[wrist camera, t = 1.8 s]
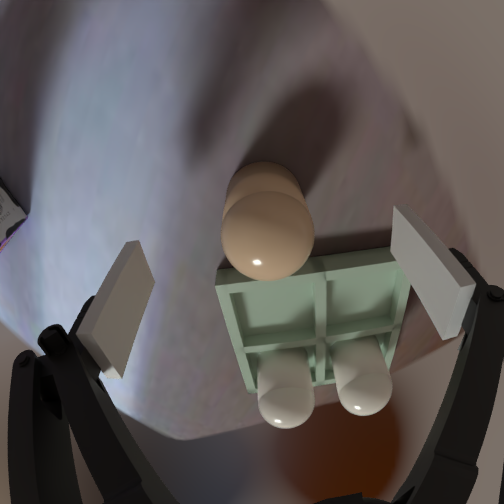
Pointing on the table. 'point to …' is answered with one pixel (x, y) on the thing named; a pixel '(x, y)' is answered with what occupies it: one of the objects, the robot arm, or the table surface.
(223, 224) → the brown egg
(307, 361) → the cream egg
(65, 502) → the robot arm
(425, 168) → the table surface
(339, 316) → the egg tray
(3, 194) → the candy box
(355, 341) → the cream egg
